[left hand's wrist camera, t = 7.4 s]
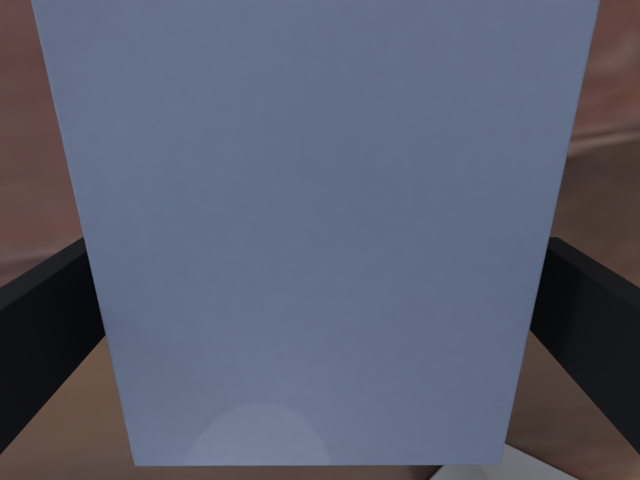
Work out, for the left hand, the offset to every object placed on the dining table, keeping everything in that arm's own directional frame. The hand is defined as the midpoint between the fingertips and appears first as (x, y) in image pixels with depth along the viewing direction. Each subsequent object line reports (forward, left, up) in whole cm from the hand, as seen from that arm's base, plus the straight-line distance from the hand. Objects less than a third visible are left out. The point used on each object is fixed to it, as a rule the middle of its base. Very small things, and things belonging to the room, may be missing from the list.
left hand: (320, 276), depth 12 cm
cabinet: (+6, +1, -6) cm, 9 cm away
